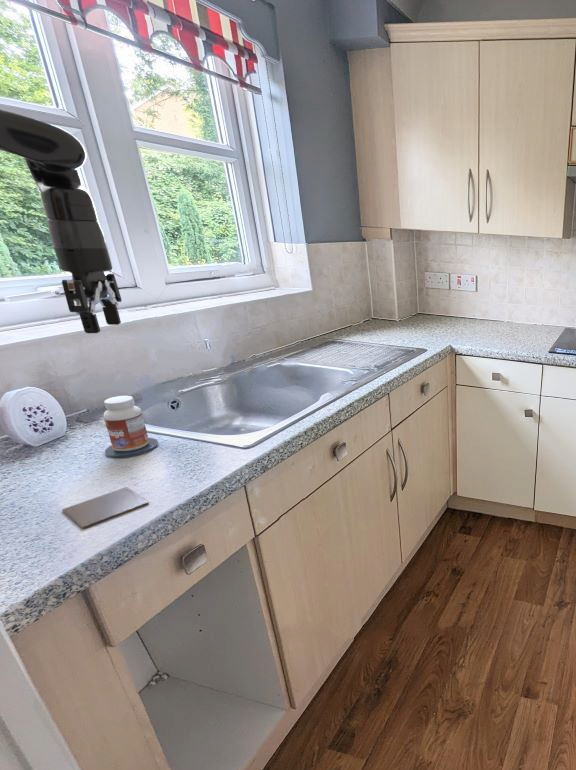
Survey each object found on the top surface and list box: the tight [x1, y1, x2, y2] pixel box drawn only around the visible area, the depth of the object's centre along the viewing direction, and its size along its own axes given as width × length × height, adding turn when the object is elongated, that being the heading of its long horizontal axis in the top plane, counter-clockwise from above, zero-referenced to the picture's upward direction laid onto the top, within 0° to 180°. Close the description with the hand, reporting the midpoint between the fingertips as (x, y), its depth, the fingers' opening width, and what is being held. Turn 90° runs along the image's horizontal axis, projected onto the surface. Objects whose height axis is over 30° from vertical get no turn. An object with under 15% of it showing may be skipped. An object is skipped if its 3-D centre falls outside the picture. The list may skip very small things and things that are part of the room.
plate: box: [104, 437, 159, 459], centre depth 100 cm, size 9×9×1 cm
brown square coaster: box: [61, 486, 150, 530], centre depth 80 cm, size 9×9×1 cm
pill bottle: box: [103, 395, 150, 451], centre depth 98 cm, size 6×6×11 cm
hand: (104, 328), depth 93 cm, fingers open, 8 cm apart
